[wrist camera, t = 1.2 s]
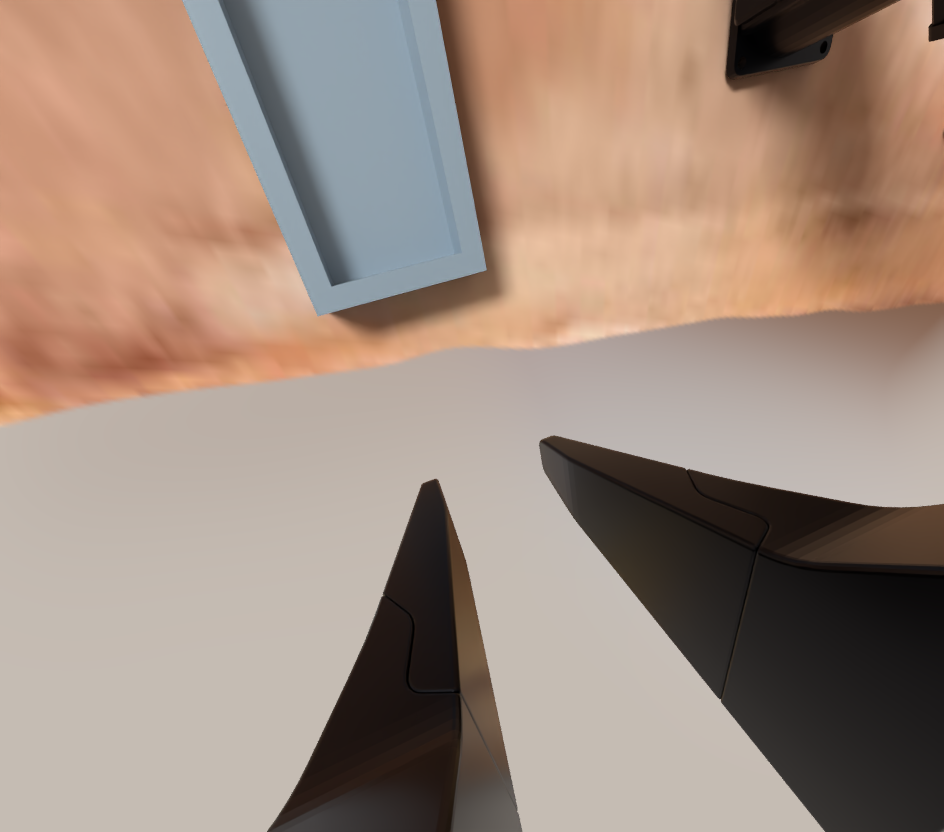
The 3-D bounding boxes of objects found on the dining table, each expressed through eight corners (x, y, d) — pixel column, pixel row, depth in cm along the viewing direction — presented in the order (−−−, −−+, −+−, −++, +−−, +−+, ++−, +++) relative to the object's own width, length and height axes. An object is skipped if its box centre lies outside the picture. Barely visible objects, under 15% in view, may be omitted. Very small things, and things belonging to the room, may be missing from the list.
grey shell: (384, -152, 12) (389, -247, 10) (472, 270, 18) (486, 270, 16) (136, -139, 11) (77, -245, 8) (323, 309, 17) (317, 316, 15)
